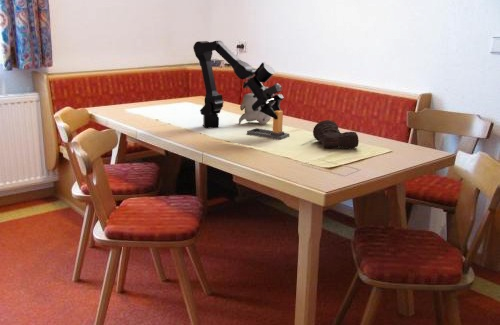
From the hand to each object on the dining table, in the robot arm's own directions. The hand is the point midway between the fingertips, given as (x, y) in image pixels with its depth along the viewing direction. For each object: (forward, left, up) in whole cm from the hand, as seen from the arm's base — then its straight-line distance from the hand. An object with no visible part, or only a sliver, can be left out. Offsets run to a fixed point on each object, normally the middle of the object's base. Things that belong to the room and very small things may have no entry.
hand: (279, 118), depth 206 cm
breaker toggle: (-1, +1, -8) cm, 8 cm away
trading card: (+3, -43, -10) cm, 44 cm away
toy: (0, +28, -9) cm, 30 cm away
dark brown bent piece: (+19, -16, -9) cm, 26 cm away
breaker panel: (-3, +4, -9) cm, 11 cm away
